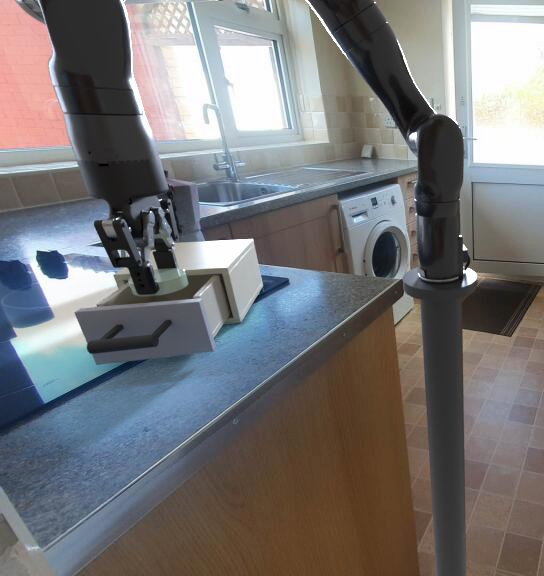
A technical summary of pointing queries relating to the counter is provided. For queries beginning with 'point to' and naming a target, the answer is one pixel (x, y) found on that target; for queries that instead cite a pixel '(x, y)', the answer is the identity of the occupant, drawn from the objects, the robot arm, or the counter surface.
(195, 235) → the moka pot
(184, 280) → the pale green disc
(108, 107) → the robot arm
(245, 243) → the cabinet
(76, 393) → the counter surface
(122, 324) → the drawer
